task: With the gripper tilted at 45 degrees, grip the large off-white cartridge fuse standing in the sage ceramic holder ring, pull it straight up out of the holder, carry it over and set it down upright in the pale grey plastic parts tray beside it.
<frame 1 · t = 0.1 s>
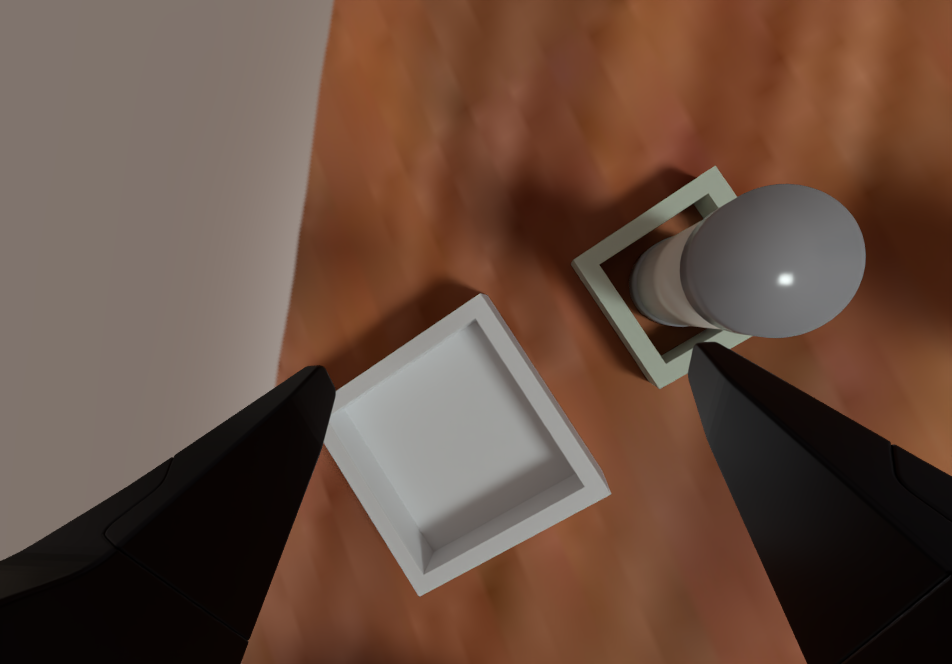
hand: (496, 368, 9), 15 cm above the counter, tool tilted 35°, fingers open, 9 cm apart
parts tray: (459, 434, 25), on the counter
holder ring: (673, 282, 22), on the counter
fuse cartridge: (673, 282, 22), resting in holder ring
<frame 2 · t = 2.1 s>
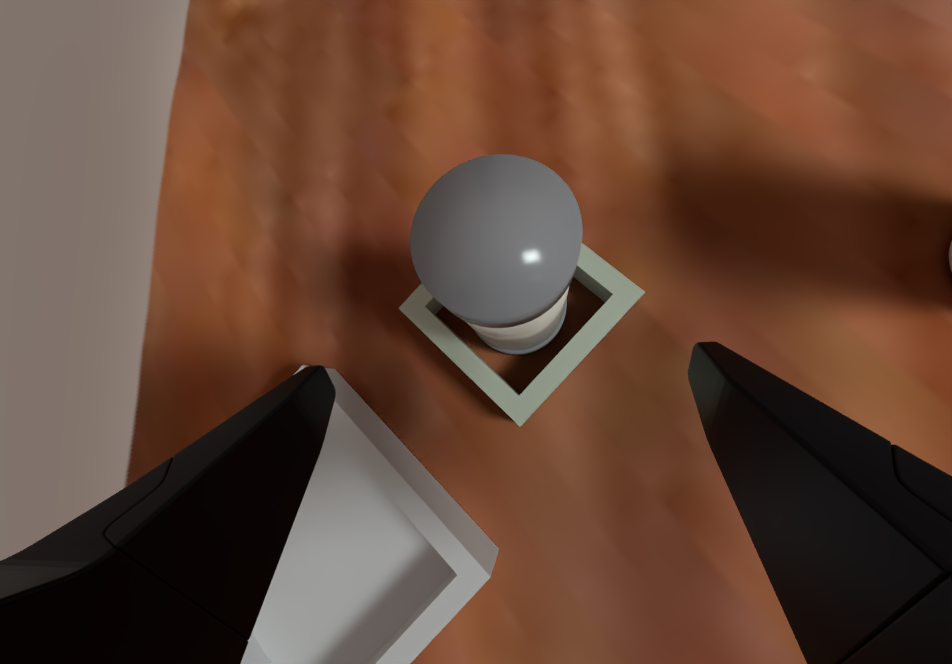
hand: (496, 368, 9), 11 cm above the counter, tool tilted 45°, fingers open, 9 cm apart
parts tray: (328, 541, 21), on the counter
holder ring: (517, 309, 21), on the counter
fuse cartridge: (518, 309, 21), resting in holder ring
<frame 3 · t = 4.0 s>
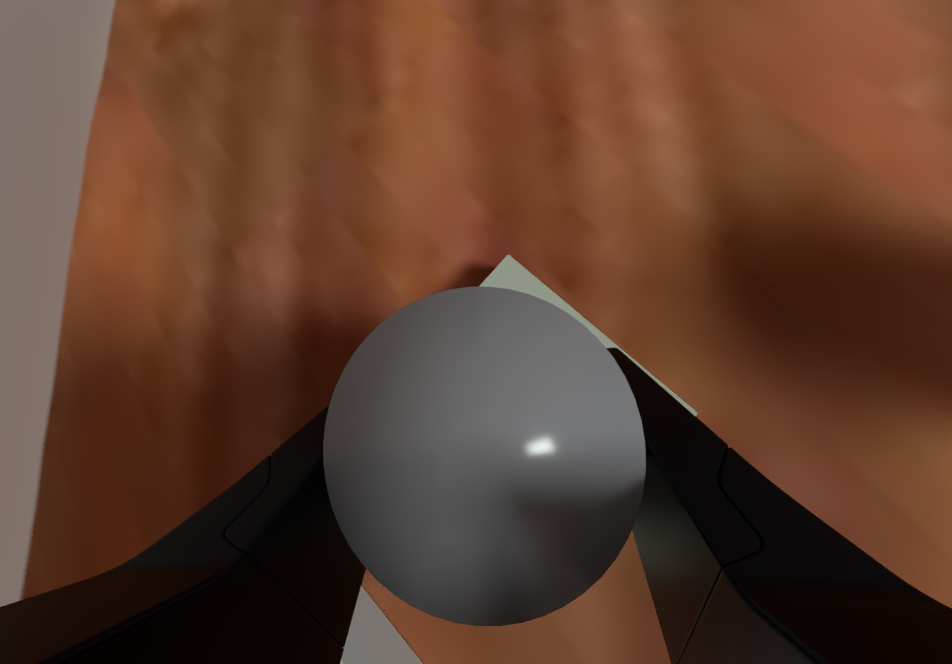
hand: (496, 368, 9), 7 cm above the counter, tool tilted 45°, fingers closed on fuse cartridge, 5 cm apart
holder ring: (518, 413, 16), on the counter
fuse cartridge: (518, 412, 16), resting in holder ring, touching gripper
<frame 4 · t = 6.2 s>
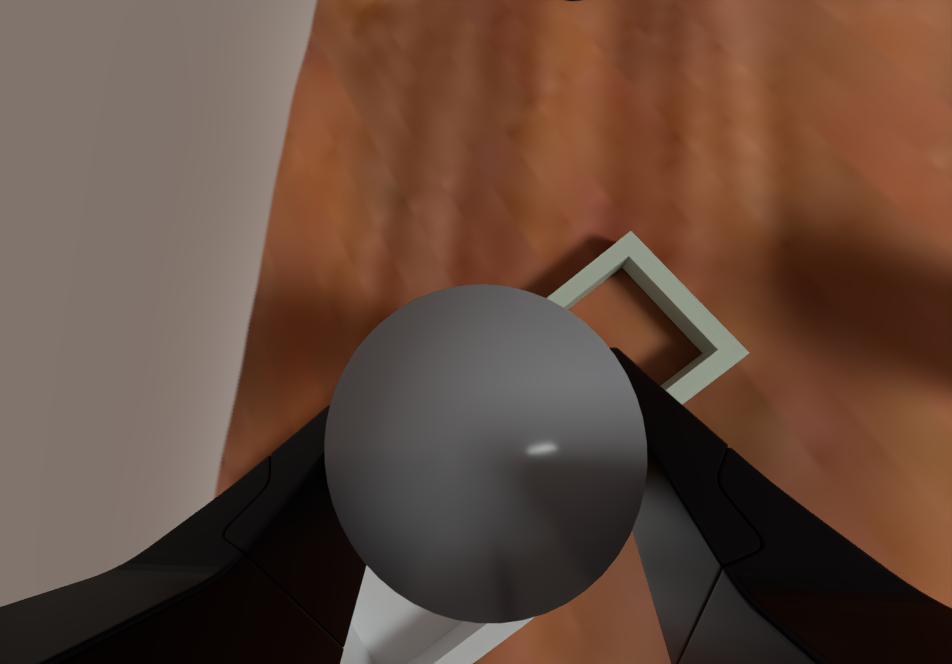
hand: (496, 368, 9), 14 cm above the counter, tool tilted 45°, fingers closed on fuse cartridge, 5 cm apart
parts tray: (410, 526, 23), on the counter
holder ring: (615, 344, 22), on the counter
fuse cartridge: (519, 411, 16), point 7 cm above the counter, touching gripper
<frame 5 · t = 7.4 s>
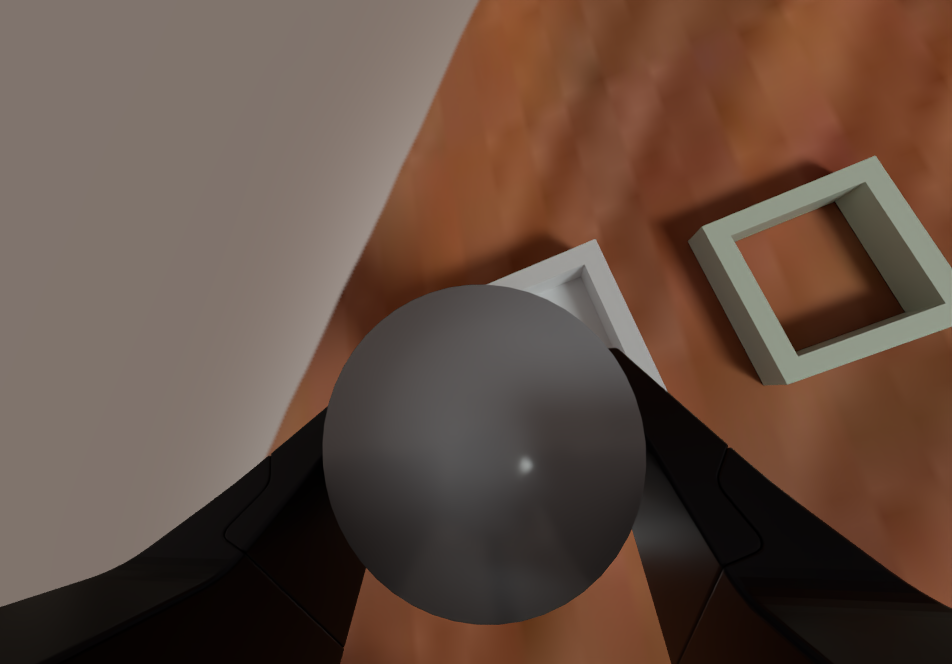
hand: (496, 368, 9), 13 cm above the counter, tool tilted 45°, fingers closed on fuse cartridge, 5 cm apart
parts tray: (525, 405, 22), on the counter
holder ring: (804, 279, 20), on the counter
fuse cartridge: (518, 412, 16), point 6 cm above the counter, touching gripper
when the fingers open (9 cm above the counter, at t = 8.6 s): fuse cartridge drops 1 cm, resting on parts tray.
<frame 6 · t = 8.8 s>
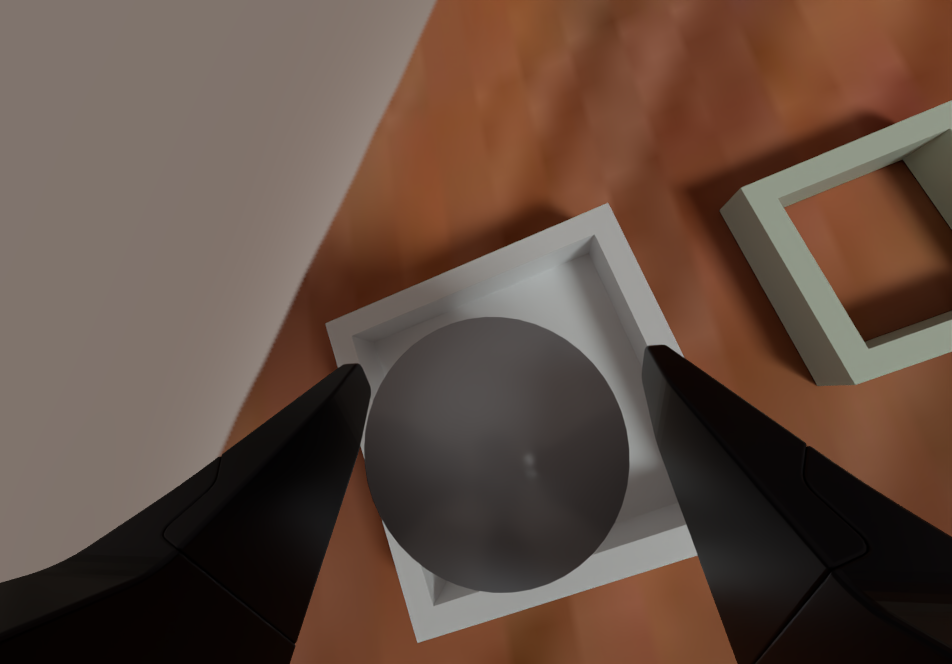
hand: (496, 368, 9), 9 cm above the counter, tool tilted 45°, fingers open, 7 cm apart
parts tray: (521, 410, 18), on the counter
holder ring: (866, 255, 16), on the counter
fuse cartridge: (520, 410, 17), point 1 cm above the counter, touching parts tray
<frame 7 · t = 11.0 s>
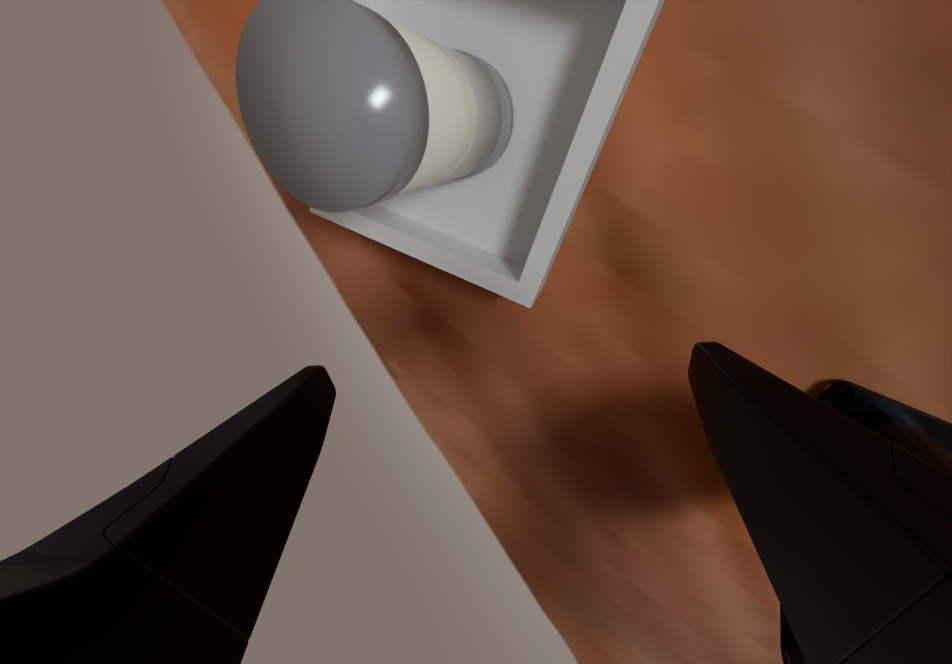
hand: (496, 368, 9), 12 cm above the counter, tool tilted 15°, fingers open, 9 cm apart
parts tray: (468, 120, 19), on the counter
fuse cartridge: (462, 119, 18), point 1 cm above the counter, touching parts tray
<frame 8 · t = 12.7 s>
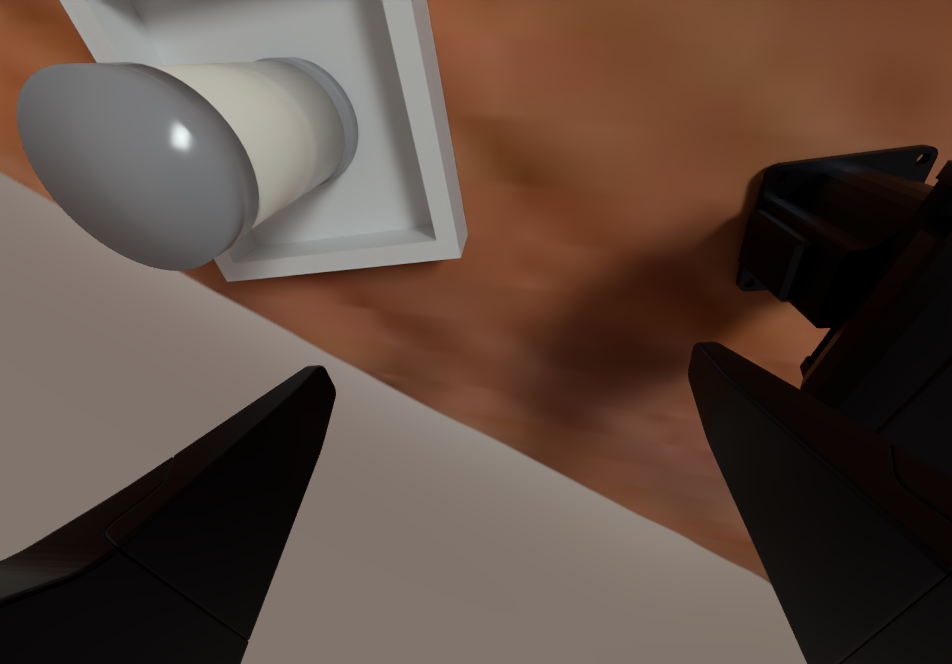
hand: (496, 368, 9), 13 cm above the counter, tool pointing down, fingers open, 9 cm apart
parts tray: (313, 120, 19), on the counter
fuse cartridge: (305, 123, 18), point 1 cm above the counter, touching parts tray
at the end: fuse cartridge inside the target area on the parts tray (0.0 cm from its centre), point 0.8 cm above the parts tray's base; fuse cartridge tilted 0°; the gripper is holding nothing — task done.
